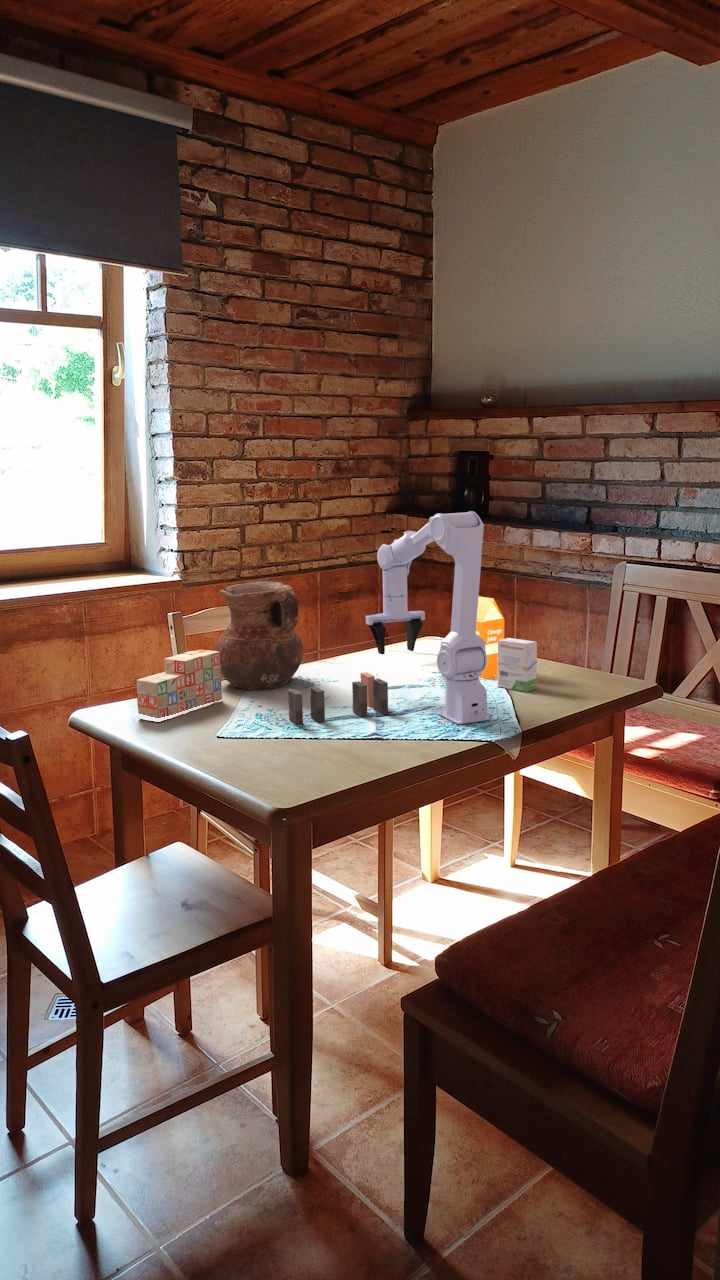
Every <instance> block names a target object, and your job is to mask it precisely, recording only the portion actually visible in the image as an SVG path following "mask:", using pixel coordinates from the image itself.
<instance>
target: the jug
mask: <svg viewBox="0 0 720 1280" xmlns="http://www.w3.org/2000/svg"><path fill="white" fill-rule="evenodd" d="M219 594H220V595H221V596H222V598H223V599H224V601H225V602H226V605H227V606H228V608H229V611H230V612H229V613H230V624H229V625H228V626H227V628H226V629H225V630H224V631H223V632H222V633H221V635H220V636H219V639H218V640H217V642H216V644H215V648H214V651H218V652H220V664H221V676H222V677H223V678H224V679H225V680H226V682H228V683H229V684H230V685H231V686H232V685H233V687H234V686H235V687H234V688H236V687H238V688H237V689H240V688H242V689H241V690H270V689H276V688H280V687H281V686H284V685H285V684H287V683H288V681H290V680H291V679H292V678H293V676H295V674H296V672H297V671H298V670H299V668H300V666H301V663H302V660H303V656H304V643H303V642H302V640H301V638H300V636H299V635H298V634H297V633H296V632H295V628H296V626H297V625H298V621H299V602H298V600H297V599H298V598H297V596H296V594H295V591H294V590H293V587H292V586H291V585H289V584H284V583H281V582H279V581H275V580H256V581H250V582H247V583H238V584H237V583H236V584H234V585H229V586H226V587H222V589H220V591H219ZM275 687H276V688H275ZM269 688H270V689H269Z"/></svg>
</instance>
